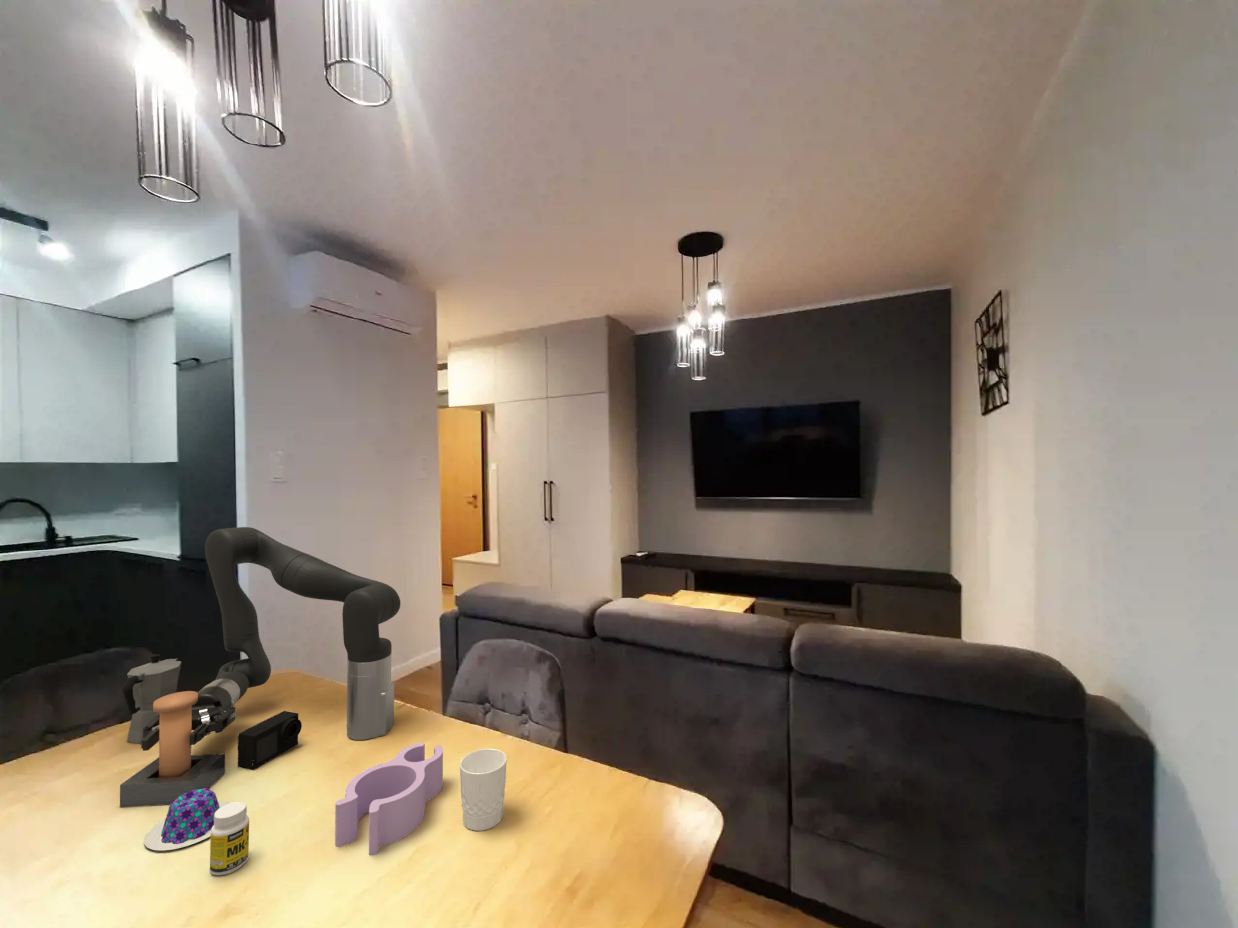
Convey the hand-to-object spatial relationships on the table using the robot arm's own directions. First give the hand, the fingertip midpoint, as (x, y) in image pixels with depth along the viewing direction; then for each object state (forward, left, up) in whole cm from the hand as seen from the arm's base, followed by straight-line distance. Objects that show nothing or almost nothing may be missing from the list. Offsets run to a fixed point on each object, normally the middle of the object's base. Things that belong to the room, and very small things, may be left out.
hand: (168, 742), depth 95 cm
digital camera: (-11, -13, -10) cm, 20 cm away
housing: (0, -2, -10) cm, 10 cm away
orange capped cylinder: (0, -2, -10) cm, 10 cm away
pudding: (-10, +9, -11) cm, 17 cm away
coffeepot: (+20, -24, -10) cm, 33 cm away
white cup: (-59, +11, -10) cm, 61 cm away
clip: (-43, +8, -10) cm, 45 cm away
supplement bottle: (-22, +18, -10) cm, 30 cm away
